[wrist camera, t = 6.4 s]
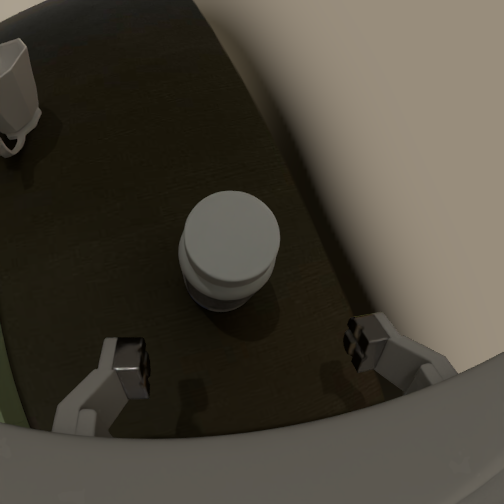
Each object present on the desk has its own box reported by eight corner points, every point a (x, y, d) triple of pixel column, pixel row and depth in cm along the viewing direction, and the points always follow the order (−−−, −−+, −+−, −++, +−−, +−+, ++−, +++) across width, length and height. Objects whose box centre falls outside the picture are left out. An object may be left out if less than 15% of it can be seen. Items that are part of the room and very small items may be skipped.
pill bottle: (267, 294, 21) (309, 263, 13) (202, 323, 20) (202, 311, 12) (237, 232, 22) (259, 168, 14) (173, 257, 20) (158, 204, 12)
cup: (53, 85, 23) (31, 27, 15) (56, 158, 21) (17, 95, 13) (-3, 113, 21) (-33, 63, 14) (-8, 190, 19) (-58, 141, 12)
